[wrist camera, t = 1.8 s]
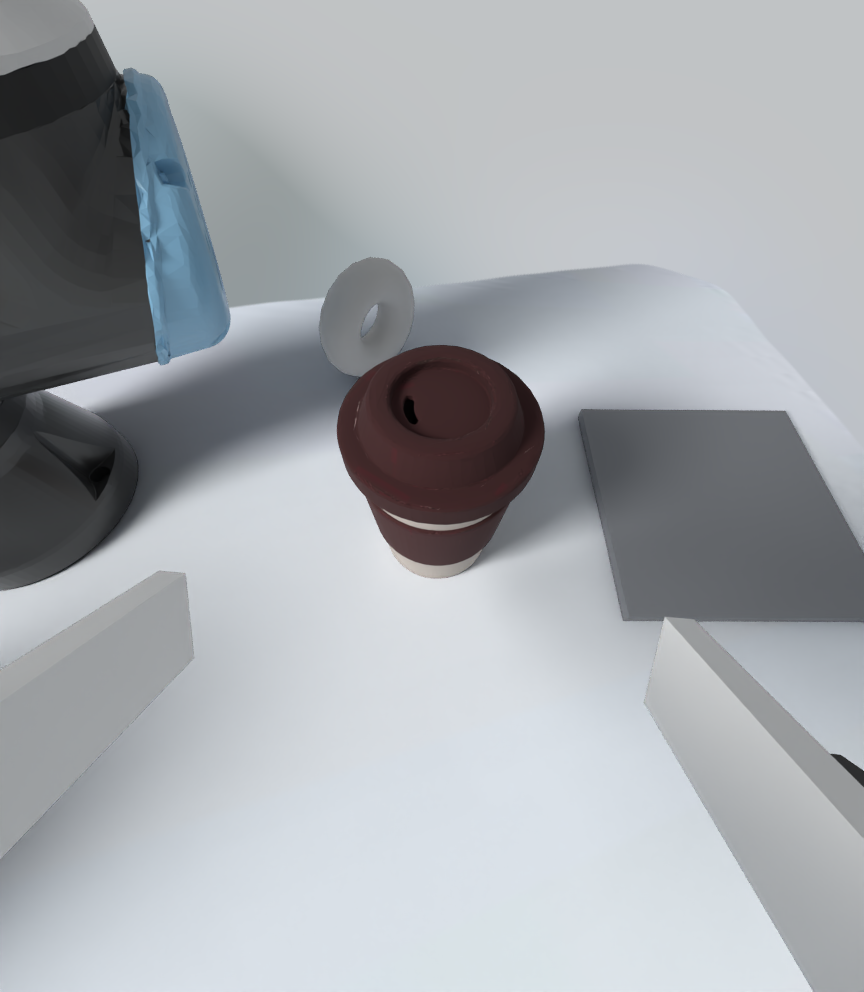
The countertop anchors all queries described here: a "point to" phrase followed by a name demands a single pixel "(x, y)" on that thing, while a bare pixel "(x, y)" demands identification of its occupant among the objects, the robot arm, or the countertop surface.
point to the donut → (350, 307)
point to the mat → (719, 518)
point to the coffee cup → (439, 452)
